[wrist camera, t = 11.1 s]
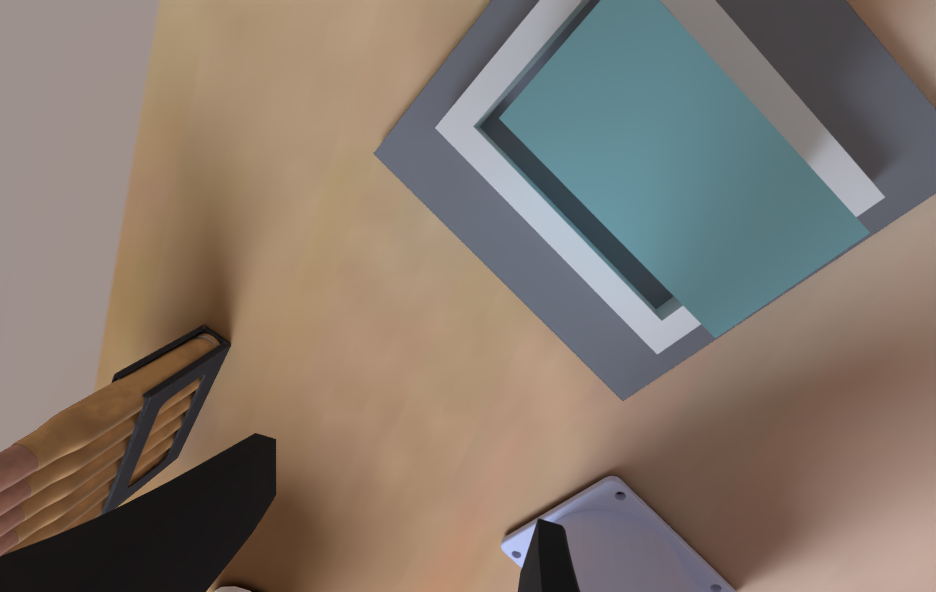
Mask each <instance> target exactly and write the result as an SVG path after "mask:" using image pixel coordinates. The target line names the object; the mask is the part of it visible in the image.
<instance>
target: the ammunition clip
mask: <svg viewBox="0 0 936 592" xmlns="http://www.w3.org/2000/svg"><path fill="white" fill-rule="evenodd" d="M230 346H231V345H230V344H229V343H228V342H227V341H225V340H224V339H222V338H221V337H220V336H218V335H217V334H215V333H214V332H212V331H211V330H210V329H208V328H207V327H205V326H204V325H202V326H200V327H199V328H197V329H195V330H193V331H191V332H190V333H188V334H186V335H184V336H182V337H181V338H179V339H177V340H175V341H173V342H171V343H170V344H168V345H166V346H164V347H162V348H161V349H159V350H157V351H155V352H153V353H152V354H150V355H148V356H146V357H144V358H143V359H141V360H139V361H137V362H135V363H133V364H132V365H130V366H128V367H126V368H124V369H123V370H121V371H119V372H117V373H116V374H115V375H114V377H113V380H112V383H111V384H110V385H108V386H106V387H104V388H102V389H101V390H99V391H97V392H95V393H93V394H92V395H90V396H88V397H86V398H84V399H83V400H81V401H79V402H77V403H75V404H74V405H72V406H70V407H68V408H66V409H65V410H63V411H61V412H59V413H58V414H56V415H55V416H53V417H52V418H51V419H49V420H48V421H47V422H46V423H44V424H43V425H42V426H41V427H39V428H38V429H37V430H35V431H34V432H32V433H31V434H29V435H27V436H25V437H24V438H22V439H21V440H19V441H17V442H16V443H14V444H13V445H12V446H11V447H9V448H7V449H5V450H4V451H2V452H0V556H2V555H5V554H7V553H10V552H13V551H15V550H18V549H20V548H23V547H26V546H28V545H31V544H33V543H36V542H39V541H41V540H44V539H47V538H49V537H52V536H54V535H57V534H59V533H62V532H64V531H66V530H69V529H71V528H73V527H76V526H78V525H80V524H83V523H85V522H87V521H89V520H92V519H94V518H96V517H98V516H101V515H103V514H105V513H107V512H109V511H112V510H114V509H115V508H117V507H118V506H119V505H120V504H121V503H123V502H124V501H125V500H126V499H128V498H129V497H130V496H131V495H133V494H134V493H135V492H136V491H137V490H139V489H140V488H141V487H142V486H144V485H145V484H146V483H147V482H149V481H150V480H151V479H152V478H153V477H155V476H156V475H157V474H158V473H160V472H161V471H162V470H163V469H165V468H166V467H167V466H168V465H169V464H171V463H172V462H173V461H174V460H176V459H177V458H178V456H179V454H180V452H181V450H182V448H183V445H184V443H185V441H186V439H187V437H188V435H189V433H190V431H191V429H192V426H193V424H194V422H195V420H196V418H197V416H198V414H199V412H200V410H201V408H202V405H203V403H204V401H205V399H206V397H207V395H208V393H209V391H210V389H211V386H212V384H213V382H214V380H215V378H216V376H217V374H218V372H219V370H220V368H221V365H222V363H223V361H224V359H225V357H226V355H227V353H228V351H229V349H230Z"/></svg>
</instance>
